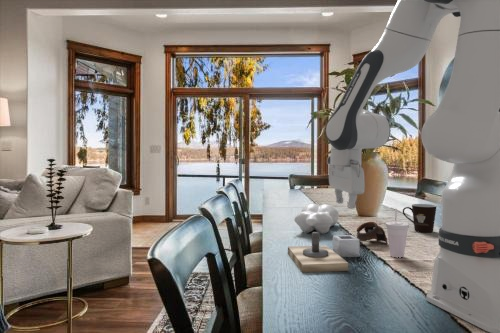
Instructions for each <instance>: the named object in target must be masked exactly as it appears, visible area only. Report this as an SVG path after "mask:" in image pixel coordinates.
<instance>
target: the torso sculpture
mask: <svg viewBox="0 0 500 333" xmlns="http://www.w3.org/2000/svg"><path fill="white" fill-rule="evenodd" d="M339 213H340V212H339V211H338V209H336V207H334V206H333V205H331V204H327V203H323V204H321V205H319V204H317V203H309V204H307V205H305V206H304V207H303V208H302V209H301V212H299V213H298V214H296V216H294V222H295V224H296V225H297V226H298V227H299V229H300V230H301V231H302V232H304V233H307V234H308V233H309V234H310V233H312V232H314V230H315V232H318V233H319V234H326V233H328V232H329V231H330V228H331V227H332V226H333V227H334V226H335V225H337V223H338V221H339V218H340V214H339Z"/></svg>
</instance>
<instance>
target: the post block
mask: <svg viewBox="0 0 500 333" xmlns="http://www.w3.org/2000/svg"><path fill="white" fill-rule="evenodd" d="M287 254H288V256H289V257H290V258H291V259H292V261H293V262H294V263H295V265H296V267H297V268H298V269H299V270H300V271H301V272H302V273H317V272H319V273H320V272H321V273H323V272H343V271H344V272H345V271H347V272H348V271H349V262H347V261H346V260H345V259H344V257H340V256H339V255H338V254H336V253H335V252H334V251H333V249H331V247H329V246H328V245H320V233H319V232H317V231H311V245H304V246H303V245H302V246H300V245H297V246H295V245H294V246H288V247H287Z"/></svg>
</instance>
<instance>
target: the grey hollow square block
mask: <svg viewBox="0 0 500 333" xmlns="http://www.w3.org/2000/svg"><path fill="white" fill-rule="evenodd" d="M360 242H361V241H360V240H359V239H358V238H357V236H354V235H352V234H347V235H345V234H344V235H343V234H342V235H341V234H339V235H332V250H333V251H334V252H335V253H336V254H338V255H339V256H340V257H341V258H355V257H356V258H357V257H360Z"/></svg>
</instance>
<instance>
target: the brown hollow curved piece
mask: <svg viewBox="0 0 500 333" xmlns="http://www.w3.org/2000/svg"><path fill="white" fill-rule="evenodd" d="M361 231H365V232H364V233H363V232H361ZM356 238H358V239H359V240H360V242H366V241H370V240H374V239H375V240H376V242H385V244H386V245H387V244H388V245H389V242H388V236H386V232H385V230H384V228H383V227H381V226H380V225H378V223H377V222H376V221H367V222H364V223H362V224H360V225H359V226H358V227H357V228H356Z"/></svg>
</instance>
